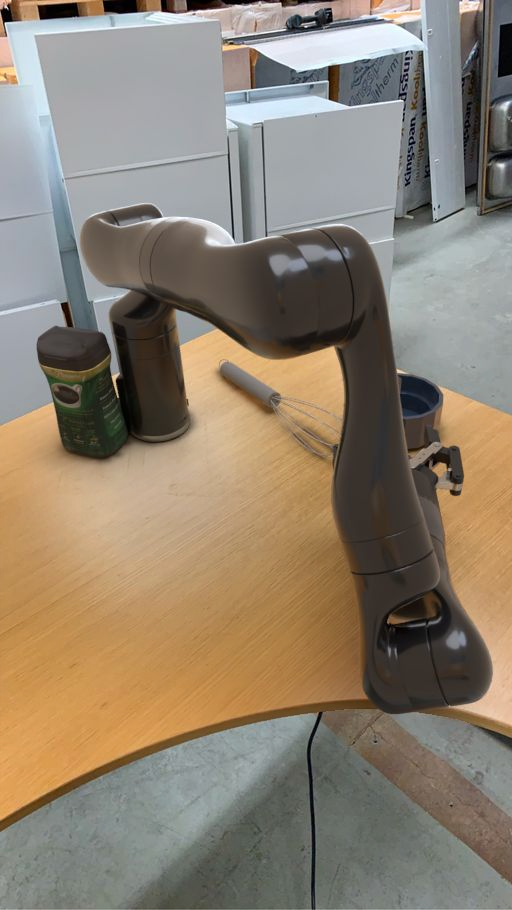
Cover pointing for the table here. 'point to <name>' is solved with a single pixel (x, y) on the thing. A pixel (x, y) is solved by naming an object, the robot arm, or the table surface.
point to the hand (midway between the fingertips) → (391, 430)
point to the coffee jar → (82, 390)
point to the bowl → (419, 407)
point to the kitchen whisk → (268, 396)
